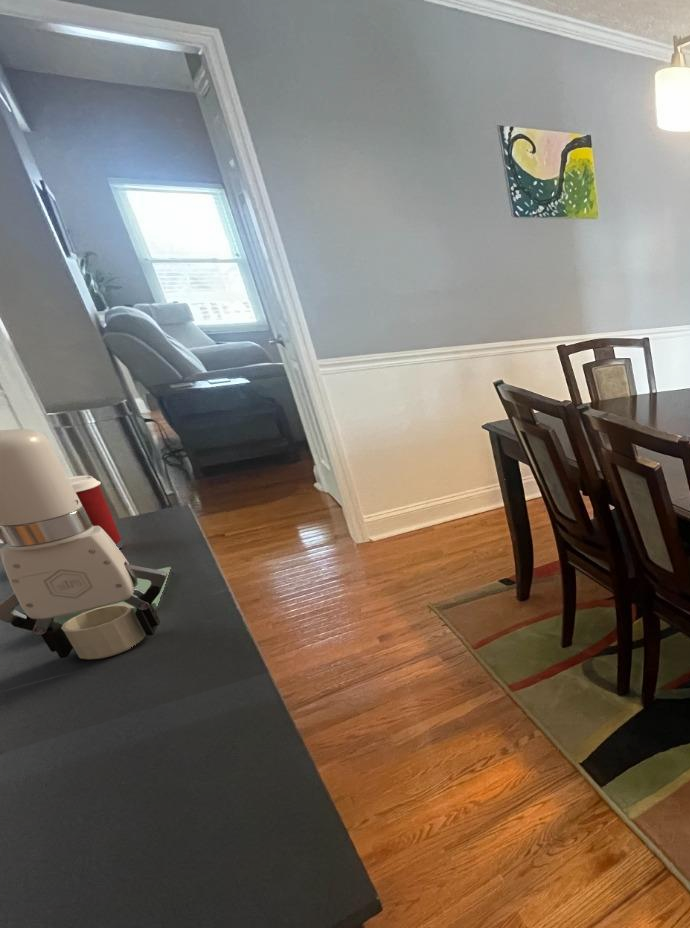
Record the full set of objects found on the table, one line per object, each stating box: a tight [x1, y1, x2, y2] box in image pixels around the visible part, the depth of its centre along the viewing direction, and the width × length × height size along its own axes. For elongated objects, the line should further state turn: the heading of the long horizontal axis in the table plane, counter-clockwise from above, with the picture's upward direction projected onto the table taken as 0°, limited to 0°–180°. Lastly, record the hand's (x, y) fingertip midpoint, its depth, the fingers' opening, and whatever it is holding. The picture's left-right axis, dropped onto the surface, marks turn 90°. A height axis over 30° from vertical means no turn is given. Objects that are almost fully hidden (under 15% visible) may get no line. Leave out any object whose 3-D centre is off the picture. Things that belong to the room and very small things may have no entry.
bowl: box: [61, 604, 146, 660], centre depth 83 cm, size 7×7×5 cm
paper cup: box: [67, 475, 122, 544], centre depth 110 cm, size 8×8×14 cm
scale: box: [53, 566, 172, 626], centre depth 94 cm, size 12×16×3 cm
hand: (111, 641), depth 83 cm, fingers open, 8 cm apart
